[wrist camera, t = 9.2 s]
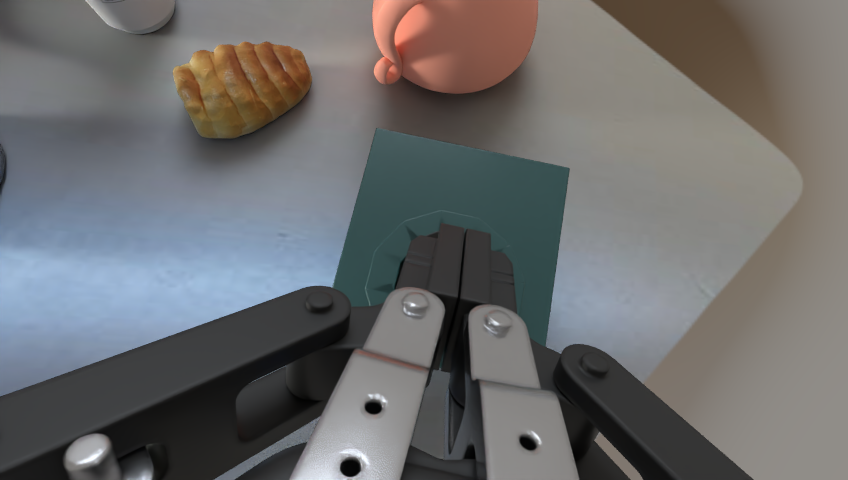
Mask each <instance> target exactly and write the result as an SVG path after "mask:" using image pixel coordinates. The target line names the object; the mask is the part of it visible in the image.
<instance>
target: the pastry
mask: <svg viewBox="0 0 848 480" xmlns="http://www.w3.org/2000/svg"><path fill="white" fill-rule="evenodd" d="M173 75H174V81H175V84H176V88H177V92H178V94H179V96H180V98H181V99H182V100H183V102H184V107H185V109H186V110H187V112H188V113H189V116H190V118H191V120H192V122H193V124H194V126H195V127H196V129H197V133H198V134H199V135H201V136H202V137H206V138H237V137H239V136H241V135H244V134H248V133H252V132H254V131H256V130H257V129H259V128H261V127H263V126H265V125H266V124H267V123H269V122H271V121H273V120H276V118H277V117H279V116H280V115H282V114H284V113H285V112H287V111H288V110H290V109H291V108H293V107H294V106H295V105H296V104H298V103H299V102H300V101H301V100H302V98H303V97H304V95H305V94H306V93H307V92H308V91H309V89H310V86H311V82H312V76H311V73H310V70H309V68H308V65H307V63H306V61H305V57H304V55H303V53H302V52H301V51H299V50H297V49H293V48H291V47H290V46H282V45H274V44H271V43H270V42H264V43H261V44H258V45H255V44H251V43H248V42H242V43H241V44H239V45H238V46H234V45H218V46H217V47H216V48H215V50H214V52H209V51H206V50H200V51H197V52H195V53H193V56H192V58H191V60H190V62H189V63H187V64H184V65H182V66H176V67H175V68H174V70H173Z"/></svg>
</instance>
